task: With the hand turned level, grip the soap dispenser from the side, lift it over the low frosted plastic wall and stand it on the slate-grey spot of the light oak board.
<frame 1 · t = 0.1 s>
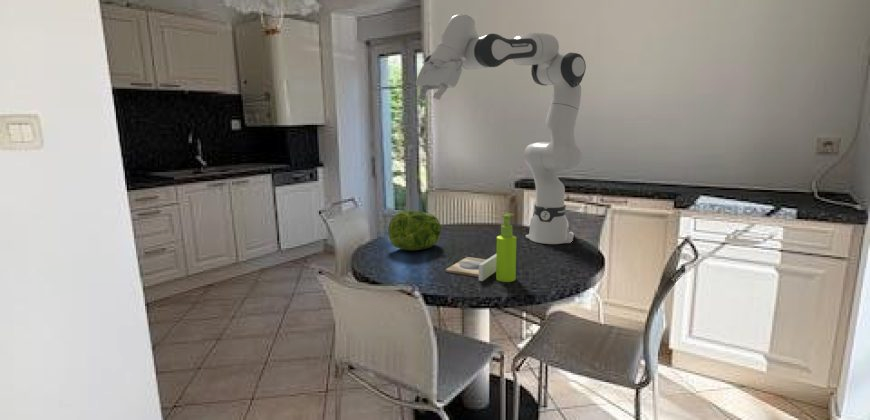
hand: (428, 99, 151), 54 cm above the table, tool tilted 30°, fingers open, 8 cm apart
lettuce: (418, 249, 180), on the table
oak board: (473, 267, 156), on the table
low wall: (493, 271, 151), on the table
soap dispenser: (506, 278, 145), on the table
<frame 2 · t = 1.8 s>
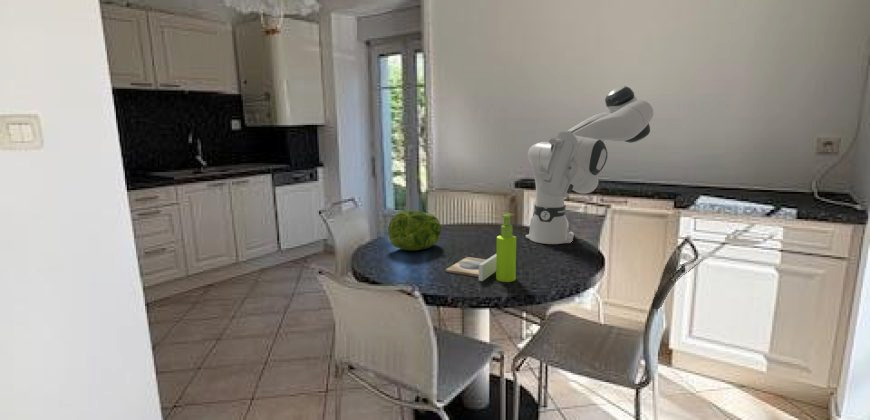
hand: (546, 155, 140), 37 cm above the table, tool pointing upward, fingers open, 8 cm apart
nothing on the table moved.
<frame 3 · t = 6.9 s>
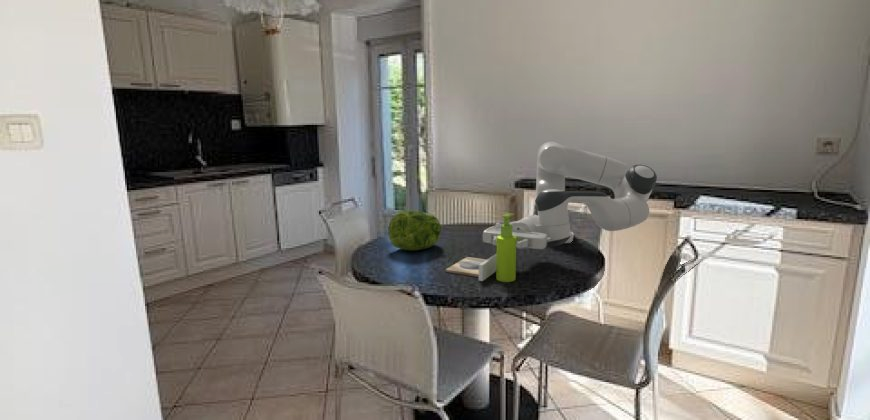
hand: (505, 244, 142), 11 cm above the table, tool horizontal, fingers closed on soap dispenser, 6 cm apart
soap dispenser: (506, 278, 145), on the table, touching gripper
everything else where it was.
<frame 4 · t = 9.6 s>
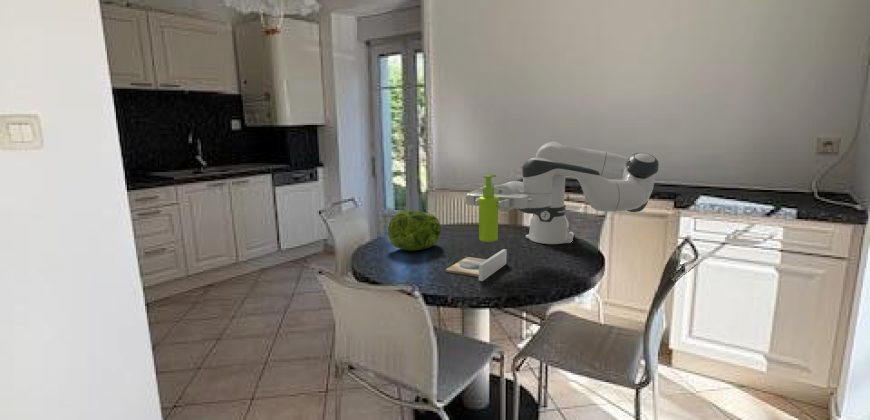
hand: (487, 203, 145), 22 cm above the table, tool horizontal, fingers closed on soap dispenser, 6 cm apart
soap dispenser: (489, 239, 148), point 11 cm above the table, touching gripper
everything else where it was.
when the fingers open (13 cm above the table, at t = 12.5 s): soap dispenser stays where it is, resting on oak board.
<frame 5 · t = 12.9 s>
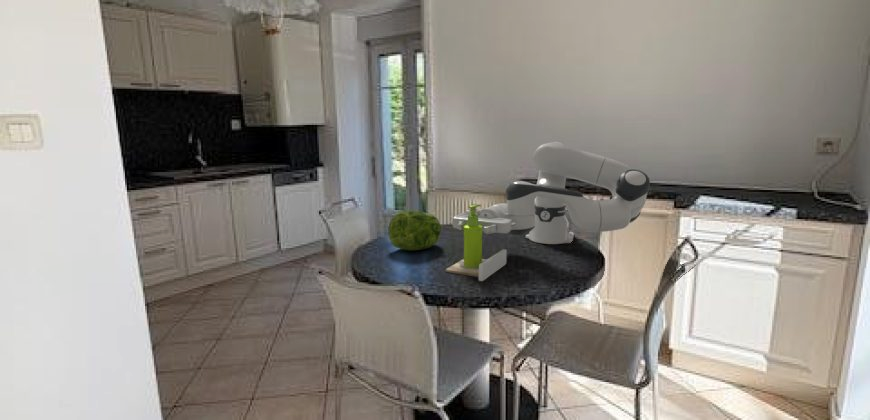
hand: (472, 228, 152), 13 cm above the table, tool horizontal, fingers open, 8 cm apart
soap dispenser: (473, 265, 156), point 1 cm above the table, touching oak board
everything else where it was.
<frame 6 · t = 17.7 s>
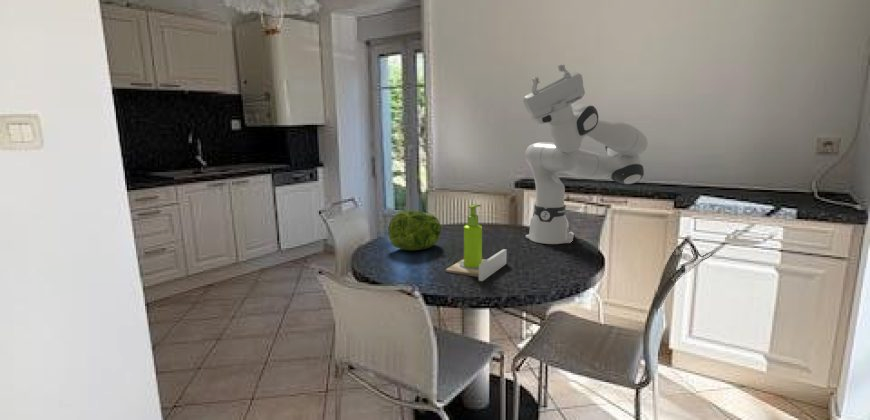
hand: (548, 71, 152), 63 cm above the table, tool pointing upward, fingers open, 8 cm apart
nothing on the table moved.
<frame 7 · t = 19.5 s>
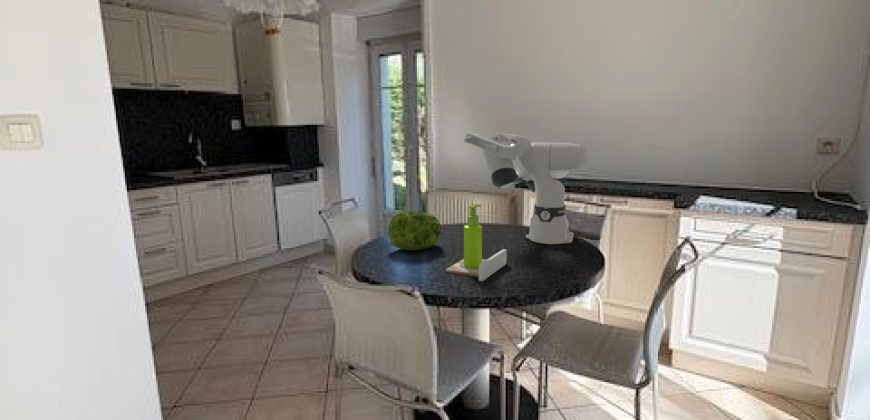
hand: (475, 143, 165), 40 cm above the table, tool horizontal, fingers open, 8 cm apart
nothing on the table moved.
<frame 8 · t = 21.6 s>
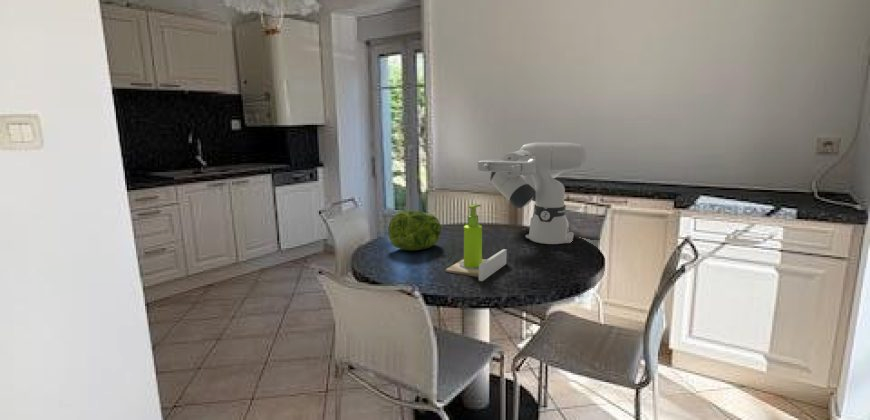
hand: (498, 168, 159), 32 cm above the table, tool horizontal, fingers open, 8 cm apart
nothing on the table moved.
at the end: soap dispenser inside the target area on the oak board (0.1 cm from its centre), point 0.7 cm above the oak board's base; soap dispenser tilted 0°; the gripper is holding nothing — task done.
